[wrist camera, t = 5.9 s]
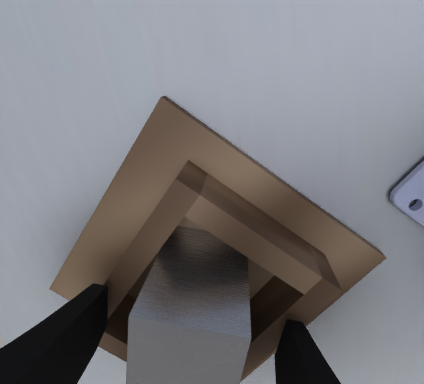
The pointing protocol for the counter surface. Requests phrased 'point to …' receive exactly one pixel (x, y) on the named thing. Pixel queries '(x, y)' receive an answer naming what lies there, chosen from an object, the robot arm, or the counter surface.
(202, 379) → the grey tall block
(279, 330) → the well
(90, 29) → the counter surface
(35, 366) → the robot arm
